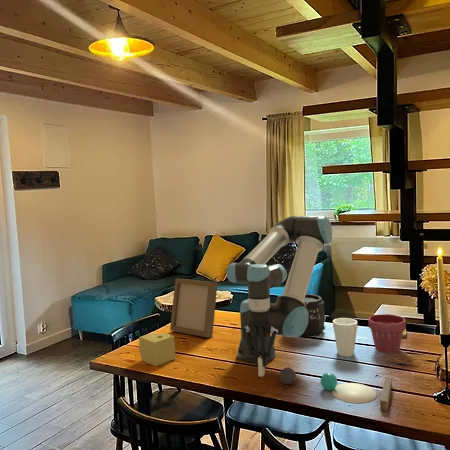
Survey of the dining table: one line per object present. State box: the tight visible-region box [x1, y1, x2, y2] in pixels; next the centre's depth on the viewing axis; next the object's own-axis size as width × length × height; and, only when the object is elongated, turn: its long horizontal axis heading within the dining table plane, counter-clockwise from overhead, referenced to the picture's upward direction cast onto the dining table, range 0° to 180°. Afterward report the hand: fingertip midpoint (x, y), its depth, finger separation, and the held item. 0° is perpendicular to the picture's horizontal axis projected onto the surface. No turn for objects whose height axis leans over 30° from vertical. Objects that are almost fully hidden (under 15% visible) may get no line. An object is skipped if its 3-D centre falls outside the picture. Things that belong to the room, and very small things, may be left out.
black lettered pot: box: [298, 293, 326, 338], centre depth 213 cm, size 18×18×16 cm
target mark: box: [331, 382, 378, 404], centre depth 151 cm, size 14×14×1 cm
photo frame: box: [169, 277, 218, 338], centre depth 220 cm, size 15×22×25 cm
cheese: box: [138, 332, 176, 367], centre depth 186 cm, size 10×11×10 cm
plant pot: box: [368, 313, 407, 354], centre depth 187 cm, size 14×14×13 cm
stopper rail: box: [379, 376, 393, 412], centre depth 147 cm, size 2×18×3 cm, turn 157°
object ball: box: [320, 372, 338, 391], centre depth 154 cm, size 6×6×6 cm
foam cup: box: [332, 317, 358, 357], centre depth 185 cm, size 10×9×13 cm
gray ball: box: [279, 367, 297, 385], centre depth 160 cm, size 6×6×6 cm
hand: (261, 374), depth 163 cm, fingers closed
